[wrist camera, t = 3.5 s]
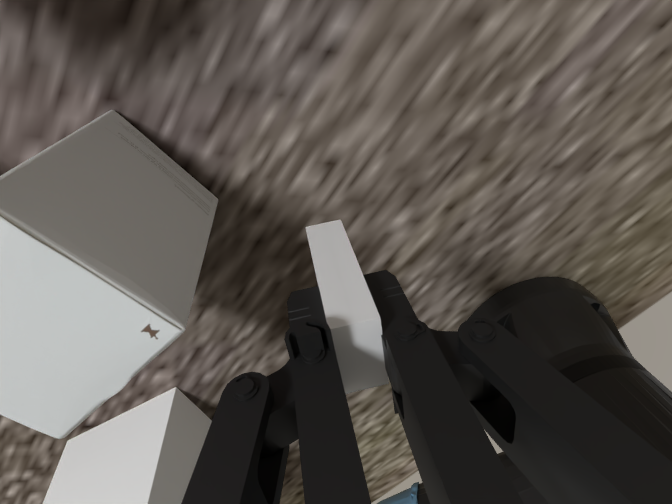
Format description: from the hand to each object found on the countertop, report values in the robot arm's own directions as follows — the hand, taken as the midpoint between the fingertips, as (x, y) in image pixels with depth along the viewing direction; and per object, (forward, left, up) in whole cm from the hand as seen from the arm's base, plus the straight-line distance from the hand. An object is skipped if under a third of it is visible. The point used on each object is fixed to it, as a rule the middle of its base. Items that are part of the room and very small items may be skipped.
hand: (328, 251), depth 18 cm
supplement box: (0, +12, -14) cm, 19 cm away
